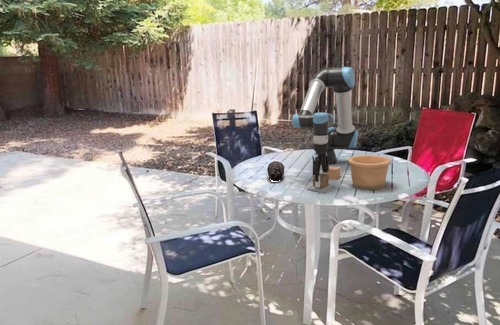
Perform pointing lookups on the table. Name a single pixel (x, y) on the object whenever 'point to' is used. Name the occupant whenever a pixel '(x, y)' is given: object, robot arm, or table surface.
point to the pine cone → (275, 170)
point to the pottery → (369, 171)
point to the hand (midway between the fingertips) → (320, 185)
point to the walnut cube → (322, 180)
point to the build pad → (321, 189)
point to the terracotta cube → (334, 173)
